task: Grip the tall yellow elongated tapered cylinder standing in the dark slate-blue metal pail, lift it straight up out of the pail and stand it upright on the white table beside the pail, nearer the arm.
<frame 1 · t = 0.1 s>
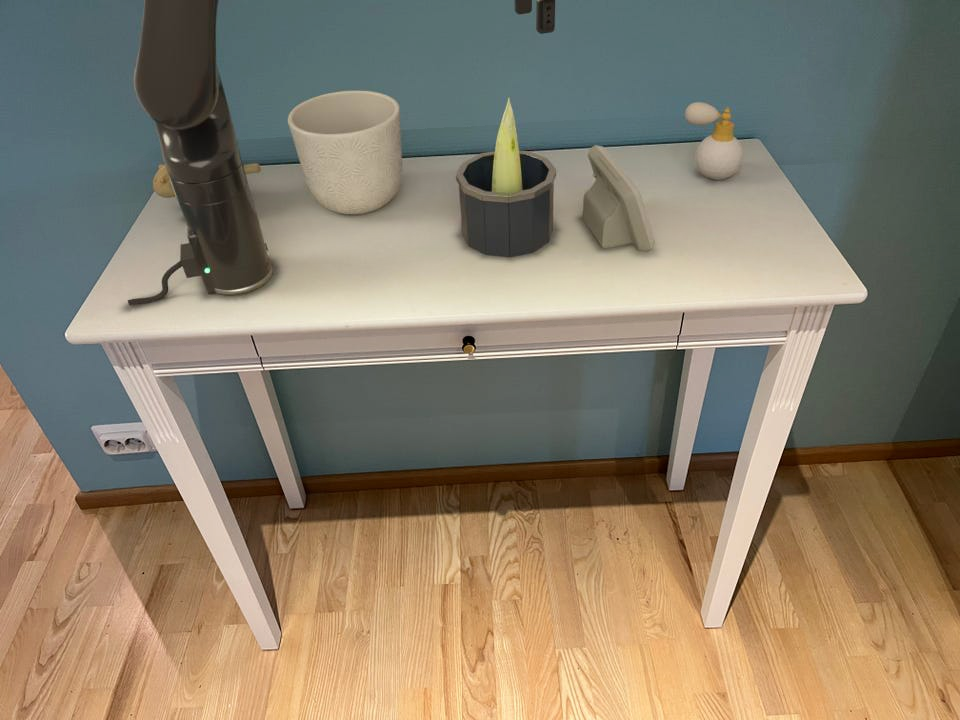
hand: (534, 22, 95), 29 cm above the table, tool pointing down, fingers open, 8 cm apart
perfume bottle: (708, 177, 123), on the table
pail: (507, 232, 112), on the table
planter: (359, 201, 122), on the table
yellow elongated tapered cylinder: (507, 233, 112), resting in pail
toy sheep: (216, 209, 122), on the table
digital clock: (617, 230, 111), on the table
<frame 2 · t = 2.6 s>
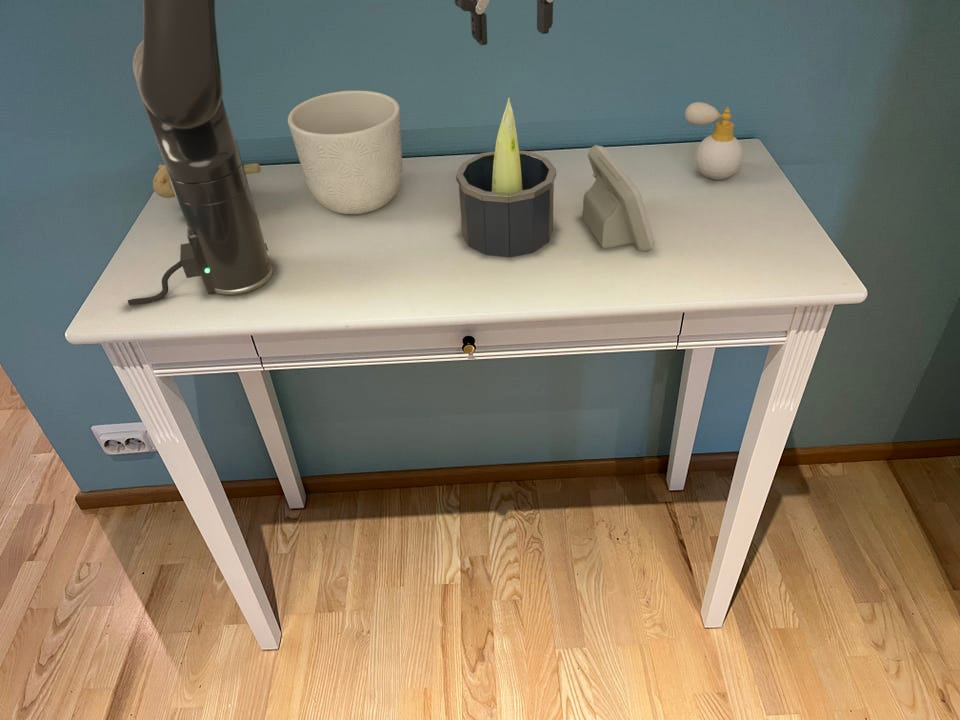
hand: (512, 37, 94), 28 cm above the table, tool pointing down, fingers open, 8 cm apart
nothing on the table moved.
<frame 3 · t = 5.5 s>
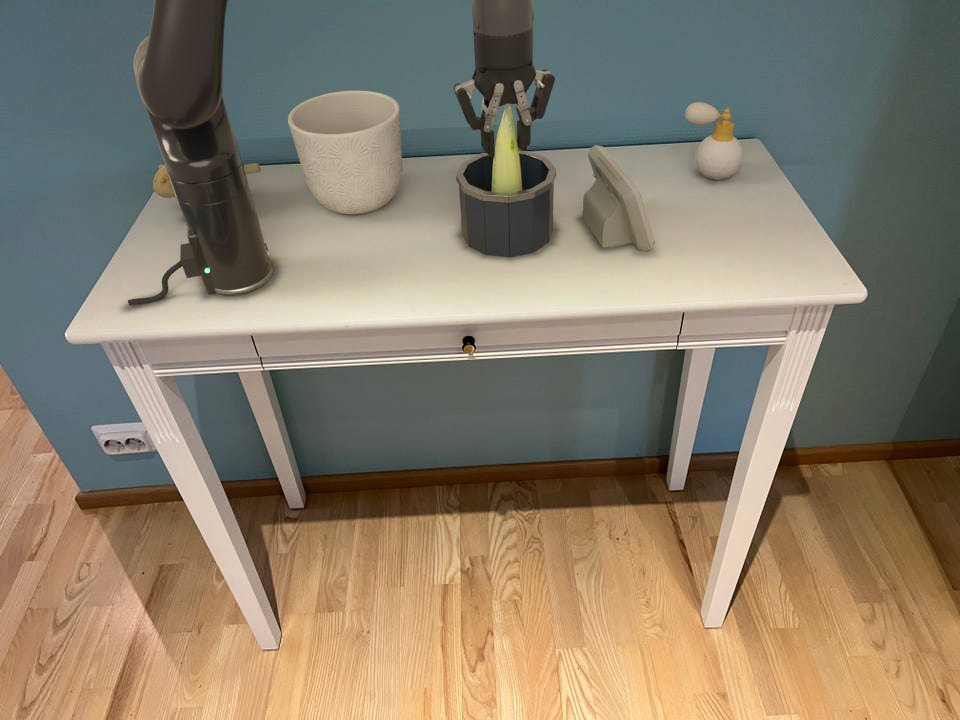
hand: (506, 150, 103), 13 cm above the table, tool pointing down, fingers closed on yellow elongated tapered cylinder, 4 cm apart
yellow elongated tapered cylinder: (507, 233, 112), resting in pail, touching gripper
everything else where it was.
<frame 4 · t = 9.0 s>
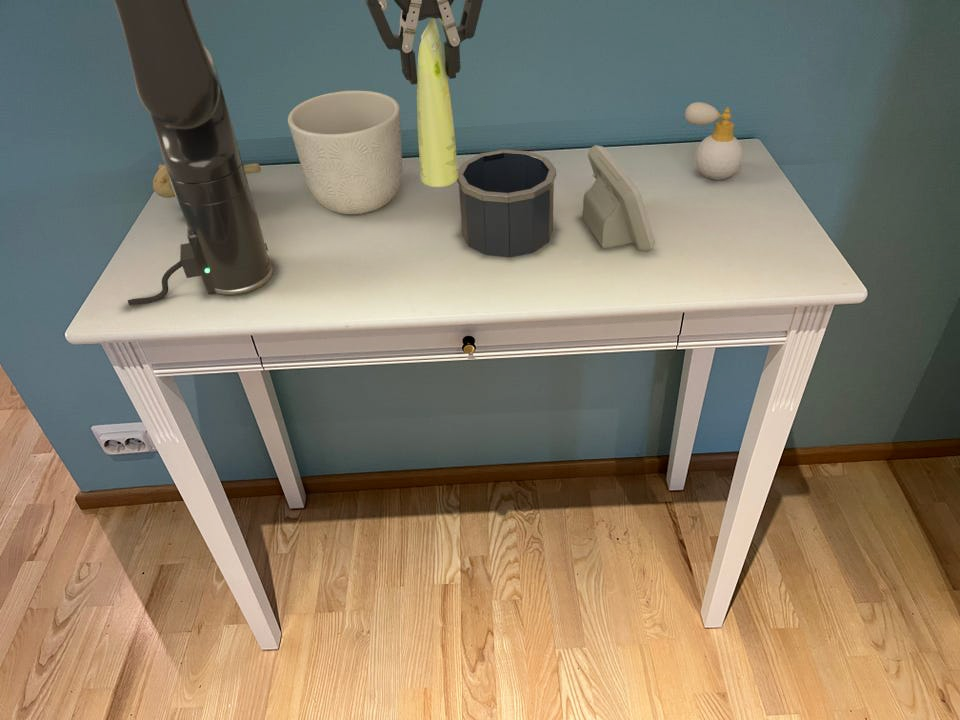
hand: (431, 78, 87), 27 cm above the table, tool pointing down, fingers closed on yellow elongated tapered cylinder, 4 cm apart
yellow elongated tapered cylinder: (439, 181, 96), point 14 cm above the table, touching gripper
everything else where it was.
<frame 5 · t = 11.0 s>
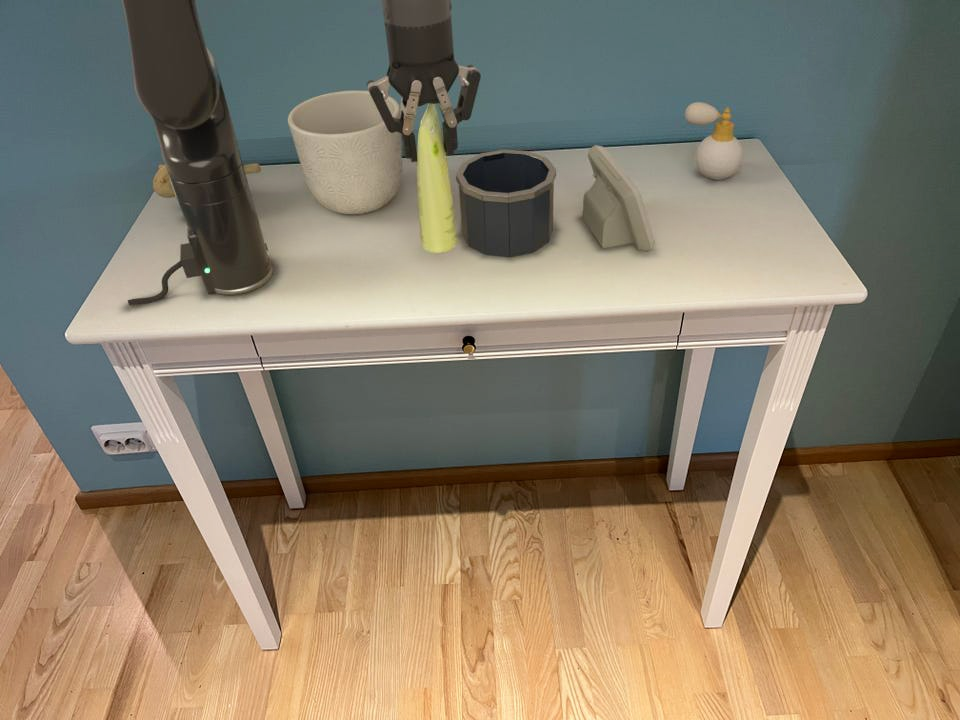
hand: (430, 155, 93), 18 cm above the table, tool pointing down, fingers closed on yellow elongated tapered cylinder, 4 cm apart
yellow elongated tapered cylinder: (438, 246, 102), point 4 cm above the table, touching gripper
everything else where it was.
when the fingers open (13 cm above the table, at t = 12.5 s): yellow elongated tapered cylinder stays where it is, on the table.
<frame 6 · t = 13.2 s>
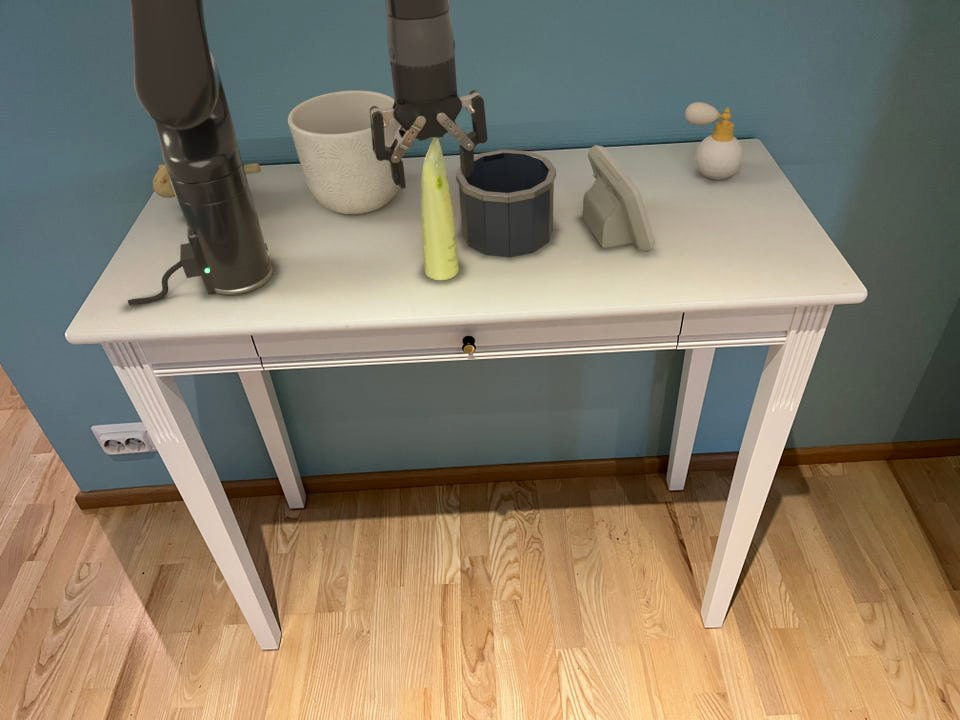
hand: (433, 180, 95), 14 cm above the table, tool pointing down, fingers open, 8 cm apart
yellow elongated tapered cylinder: (441, 273, 105), on the table
everything else where it was.
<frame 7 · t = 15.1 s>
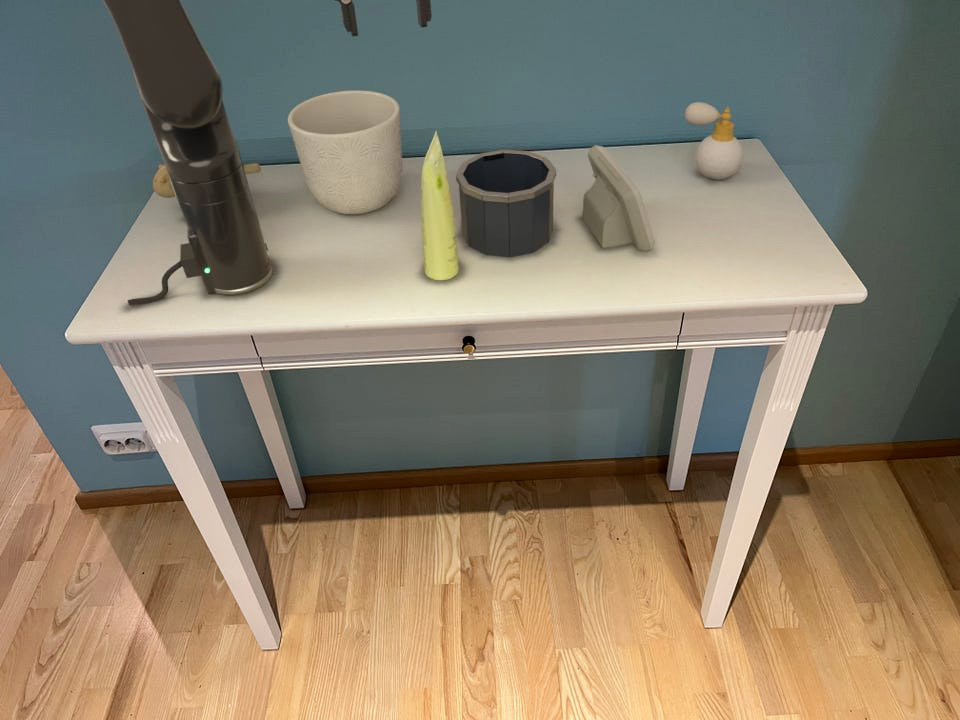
hand: (388, 30, 90), 31 cm above the table, tool pointing down, fingers open, 8 cm apart
nothing on the table moved.
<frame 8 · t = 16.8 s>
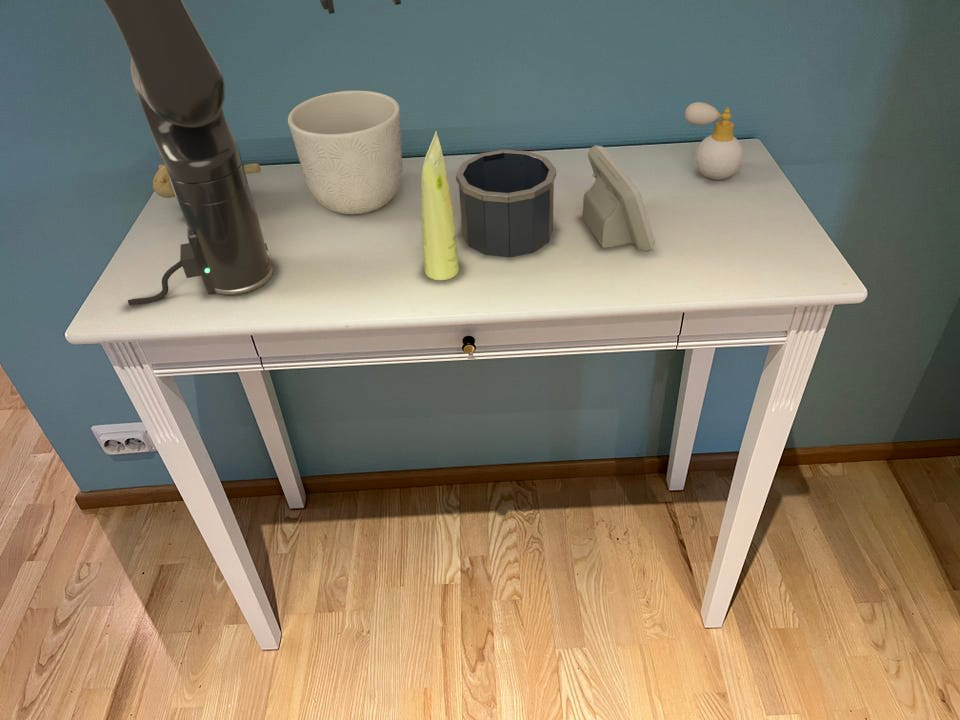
hand: (364, 7, 94), 32 cm above the table, tool pointing down, fingers open, 8 cm apart
nothing on the table moved.
at the end: yellow elongated tapered cylinder inside the target area (0.1 cm from its centre), on the table; yellow elongated tapered cylinder tilted 0°; the gripper is holding nothing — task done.
